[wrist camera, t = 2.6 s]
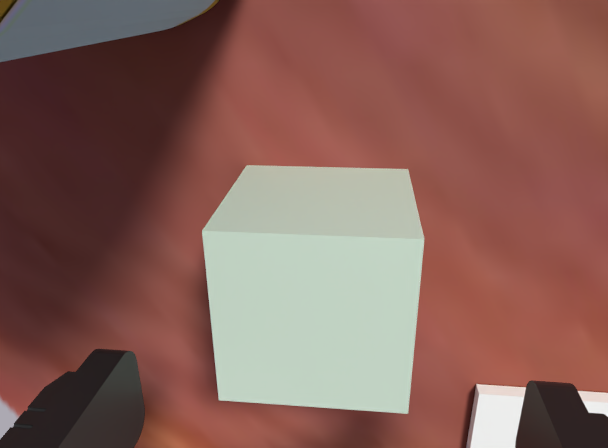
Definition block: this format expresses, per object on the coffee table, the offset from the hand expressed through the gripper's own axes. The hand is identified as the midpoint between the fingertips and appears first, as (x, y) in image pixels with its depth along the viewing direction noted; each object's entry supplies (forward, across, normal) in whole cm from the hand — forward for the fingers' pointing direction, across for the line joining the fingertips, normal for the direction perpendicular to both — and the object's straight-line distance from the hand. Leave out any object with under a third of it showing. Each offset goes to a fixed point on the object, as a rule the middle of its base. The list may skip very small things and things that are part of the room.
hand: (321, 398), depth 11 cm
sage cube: (+7, 0, 0) cm, 7 cm away
